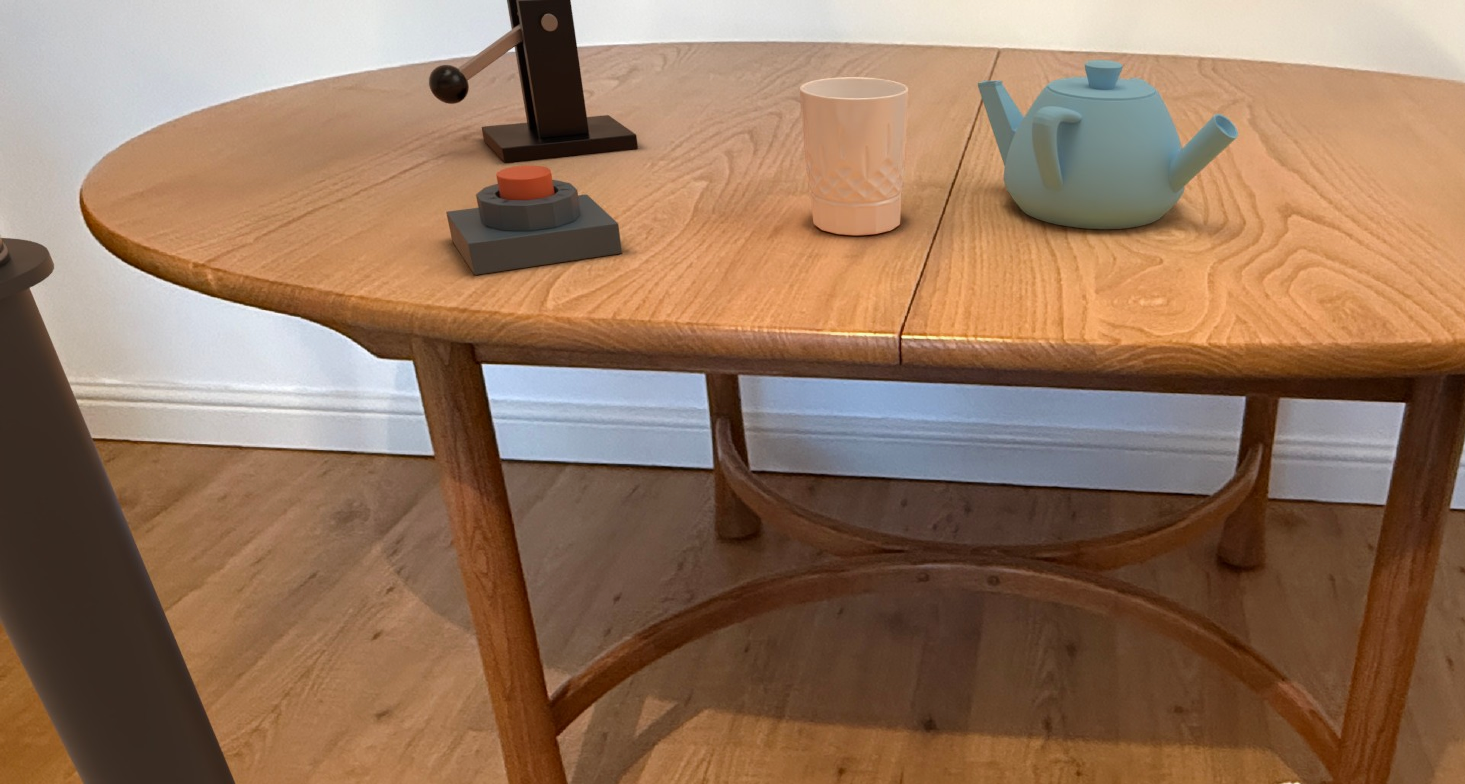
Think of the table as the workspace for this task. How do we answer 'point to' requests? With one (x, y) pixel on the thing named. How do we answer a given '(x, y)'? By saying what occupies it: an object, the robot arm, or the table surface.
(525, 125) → the bracket
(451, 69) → the tap lever
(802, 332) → the table surface
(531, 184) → the button
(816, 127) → the peach cup
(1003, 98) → the teapot
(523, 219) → the button block
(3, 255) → the robot arm
